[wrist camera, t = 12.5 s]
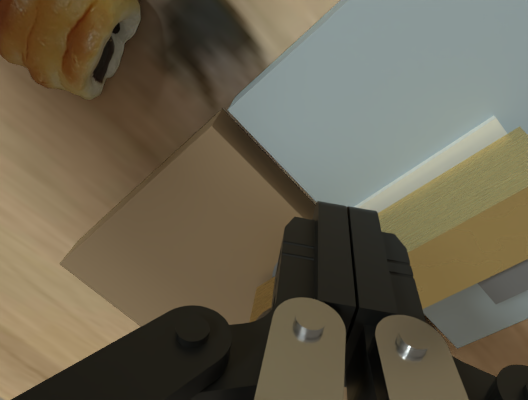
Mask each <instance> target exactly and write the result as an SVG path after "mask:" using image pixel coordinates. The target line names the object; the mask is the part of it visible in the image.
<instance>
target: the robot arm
mask: <svg viewBox="0 0 528 400" xmlns="http://www.w3.org/2000/svg"><path fill="white" fill-rule="evenodd" d="M413 276H414V275H413V271H412V268H411V266H410V260H409V256H408V253H407V249H406V247H405V246H404V245H403V244H402V242H401V241H400V240H399V239H398V238H397V236H396V235H395V234H392V233H386V232H381V227H380V222H379V217H378V213H377V211H373V210H368V209H362V208H356V207H351V206H347V207H346V206H344V205H339V204H333V203H327V202H321V201H317V203H316V206H315V210H314V214H313V219H312V220H311V219H306V218H300V217H294V218H293V219H292V220H291V221H290V222H289V223H288V224H287V225H286V226H285V229H284V234H283V239H282V244H281V249H280V254H279V259H278V264H277V269H276V274H275V282H274V290H273V297H272V305H271V311H270V312H269V313H268V314H267V315H265V316H264V317H262V318H261V319H258V320H256V321H253V322H249V323H243V324H232V325H229V324H228V322H227V321H226V319H225V318H224V317H223V316H222V315H220V314H219V313H218V312H216V311H214V310H212V309H210V308H207V307H203V306H196V305H189V306H182V307H178V308H175V309H172V310H170V311H168V312H166V313H165V314H163V315H161V316H159V317H158V318H156V319H154V320H152V321H150V322H149V323H147V324H145V325H143V326H141V327H140V328H138V329H136V330H134V331H133V332H131V333H129V334H127V335H125V336H124V337H122V338H120V339H118V340H117V341H115V342H113V343H111V344H109V345H108V346H106V347H104V348H102V349H101V350H99V351H97V352H95V353H93V354H92V355H90V356H88V357H86V358H84V359H83V360H81V361H79V362H77V363H76V364H74V365H72V366H70V367H68V368H67V369H65V370H63V371H61V372H60V373H58V374H56V375H54V376H52V377H51V378H49V379H47V380H45V381H43V382H42V383H40V384H38V385H36V386H35V387H33V388H31V389H29V390H27V391H26V392H24V393H22V394H20V395H19V396H17V397H15V398H13V399H11V400H344V387H347V400H528V366H524V365H510V366H507V367H505V368H503V369H502V370H501V371H500V373H499V374H498V376H497V377H495V376H493V375H491V374H489V373H486V372H484V371H482V370H479V369H477V368H475V367H473V366H470V365H468V364H466V363H464V362H462V361H460V360H458V359H456V358H455V357H453V356H452V355H451V353H450V350H449V347H448V345H447V343H446V342H445V340H444V339H443V337H442V336H441V335H440V334H439V333H438V332H437V331H436V330H435V329H434V328H433V327H431V326H430V325H428V324H427V323H426V320H425V317H424V313H423V309H422V305H421V301H420V298H419V294H418V290H417V286H416V283H415V279H414V278H413Z"/></svg>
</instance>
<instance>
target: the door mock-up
mask: <svg viewBox="0 0 528 400" xmlns="http://www.w3.org/2000/svg"><path fill="white" fill-rule="evenodd" d="M228 111H229V112H230V113H231V114H232V115H233V116H234V117H235V118H236V119H237V120H238V121H239V122H240V123H241V124H242V125H243V127H244V128H245V129H246V130H247V131H248V132H249V133H250V134H251V135H252V136H253V137H254V138H255V139H256V140H257V141H258V142H259V143H260V144H261V145H262V146H263V147H264V148H265V149H266V150H267V151H268V152H269V154H270V155H271V156H272V157H273V158H274V159H275V160H276V161H277V162H278V163H279V164H280V165H281V166H282V167H283V168H284V169H285V170H286V171H287V172H288V173H289V174H290V175H291V176H292V177H293V178H294V179H295V180H296V182H297V183H298V184H299V185H300V186H301V187H302V188H303V189H304V190H305V191H306V192H307V193H308V194H309V195H310V196H311V197H312V198H313V199H314V200H315V201H316V202H317V201H321V202H327V203H333V204H339V205H344V206H346V207H347V206H351V207H356V208H362V209H368V210H373V211H377V213H379V212H381V211H382V210H384V209H386V208H387V207H389V206H391V205H392V204H394V203H395V202H397V201H399V200H400V199H402V198H404V197H405V196H407V195H408V194H410V193H412V192H413V191H415V190H417V189H418V188H420V187H422V186H423V185H425V184H426V183H428V182H430V181H431V180H433V179H435V178H436V177H438V176H439V175H441V174H443V173H444V172H446V171H448V170H449V169H451V168H453V167H454V166H456V165H457V164H459V163H461V162H462V161H464V160H466V159H467V158H469V157H470V156H472V155H474V154H475V153H477V152H479V151H480V150H482V149H484V148H485V147H487V146H488V145H490V144H492V143H493V142H495V141H497V140H498V139H500V138H501V137H503V136H505V135H506V134H508V133H510V132H511V131H513V130H514V129H516V128H518V127H519V126H520V127H521V128H522V129H523V130H524V131H525V133H526V134H527V135H528V0H340V1H339V2H338V3H337V4H336V5H335V6H334V7H333V8H332V9H331V10H330V11H328V12H327V13H326V14H325V15H324V16H323V17H322V18H321V19H320V20H319V21H318V22H316V23H315V24H314V25H313V26H312V27H311V28H310V29H309V30H308V31H307V32H306V33H304V34H303V35H302V36H301V37H300V38H299V39H298V40H297V41H296V42H295V43H294V44H292V45H291V46H290V47H289V48H288V49H287V50H286V51H285V52H284V53H283V54H281V55H280V56H279V57H278V58H277V59H276V60H275V61H274V62H273V63H272V64H271V65H269V66H268V67H267V68H266V69H265V70H264V71H263V72H262V73H261V74H260V75H259V76H257V77H256V78H255V79H254V80H253V81H252V82H251V83H250V84H249V85H248V86H247V87H245V88H244V89H243V90H242V91H241V92H240V93H239V94H238V95H237V96H236V97H235V98H234V100H233V102H232V103H231V105H230V107H229V109H228ZM315 206H316V205H315V204H314V203H313V202H312V201H311V200H310V199H309V198H308V197H307V196H306V195H305V194H304V193H303V192H302V191H301V190H300V189H299V188H298V187H297V186H296V185H295V184H294V182H293V181H292V180H291V179H290V178H289V177H288V176H287V175H286V174H285V173H284V172H283V171H282V170H281V169H280V168H279V167H278V166H277V165H276V164H275V163H274V162H273V161H272V160H271V159H270V158H269V157H268V156H267V155H266V154H265V153H264V151H263V150H262V149H261V148H260V147H259V146H258V145H257V144H256V143H255V142H254V141H253V140H252V139H251V138H250V137H249V136H248V135H247V134H246V133H245V132H244V131H243V130H242V129H241V128H240V127H239V126H238V125H237V124H236V123H235V121H234V120H233V119H232V118H231V117H230V116H229V115H228V114H227V113H226V112H225V111H224V110H223V109H221V110H220V111H219V112H218V113H217V114H216V115H215V116H214V117H213V118H212V119H211V120H209V121H208V122H207V123H206V124H205V125H204V126H203V127H202V128H201V129H200V130H199V131H197V132H196V133H195V134H194V135H193V136H192V137H191V138H190V139H189V140H188V141H187V142H185V143H184V144H183V145H182V146H181V147H180V148H179V149H178V150H177V151H176V152H174V153H173V154H172V155H171V156H170V157H169V158H168V159H167V160H166V161H165V162H164V163H162V164H161V165H160V166H159V167H158V168H157V169H156V170H155V171H154V172H153V173H152V174H150V175H149V176H148V177H147V178H146V179H145V180H144V181H143V182H142V183H141V184H140V185H138V186H137V187H136V188H135V189H134V190H133V191H132V192H131V193H130V194H129V195H128V196H126V197H125V198H124V199H123V200H122V201H121V202H120V203H119V204H118V205H117V206H116V207H114V208H113V209H112V210H111V211H110V212H109V213H108V214H107V215H106V216H105V217H104V218H102V219H101V220H100V221H99V222H98V223H97V224H96V225H95V226H94V227H93V228H92V229H90V230H89V231H88V232H87V233H86V234H85V235H84V236H83V237H82V238H81V239H79V240H78V241H77V243H76V244H75V245H74V246H73V248H72V249H71V250H70V251H69V253H68V254H67V255H66V256H65V257H64V259H63V260H62V261H61V262H60V265H61V266H63V267H64V268H65V269H66V270H68V271H69V272H70V273H72V274H73V275H74V276H76V277H77V278H78V279H80V280H81V281H82V282H83V283H85V284H86V285H87V286H89V287H90V288H91V289H93V290H94V291H95V292H96V293H98V294H99V295H100V296H102V297H103V298H104V299H106V300H107V301H108V302H109V303H111V304H112V305H113V306H115V307H116V308H117V309H119V310H120V311H121V312H123V313H124V314H125V315H126V316H128V317H129V318H130V319H132V320H133V321H134V322H136V323H137V324H138V325H139V326H143V325H145V324H147V323H149V322H150V321H152V320H154V319H156V318H158V317H159V316H161V315H163V314H165V313H166V312H168V311H170V310H172V309H175V308H178V307H182V306H189V305H196V306H203V307H207V308H210V309H212V310H214V311H216V312H218V313H219V314H220V315H222V316H223V317H224V318H225V319H226V321H227V322H228V324H229V325H232V324H243V323H249V321H250V316H251V312H252V307H253V302H254V298H255V293H256V288H257V287H258V286H260V285H262V284H263V283H265V282H267V281H268V280H270V279H271V278H273V277H275V274H276V269H277V264H278V259H279V254H280V249H281V244H282V239H283V234H284V229H285V226H286V225H287V224H288V223H289V222H290V221H291V220H292V219H293V218H294V217H300V218H306V219H311V220H312V219H313V214H314V210H315ZM423 313H424V314H425V315H426V316H427V317H428V318H429V320H430V321H431V322H432V323H433V324H434V325H435V326H436V327H437V328H438V329H439V330H440V331H441V332H442V333H443V334H444V335H445V336H446V337H447V338H448V339H449V340H450V341H451V342H452V343H453V344H454V345H455V347H456V348H457V349H458V348H460V347H462V346H465V345H467V344H469V343H472V342H474V341H476V340H479V339H481V338H483V337H486V336H488V335H490V334H493V333H495V332H497V331H500V330H502V329H504V328H507V327H509V326H511V325H514V324H516V323H518V322H521V321H523V320H525V319H528V259H527V260H525V261H523V262H520V263H518V264H516V265H514V266H512V267H510V268H508V269H506V270H504V271H502V272H500V273H497V274H495V275H493V276H491V277H489V278H487V279H485V280H483V281H481V282H479V283H476V284H474V285H472V286H470V287H468V288H466V289H464V290H462V291H460V292H458V293H456V294H453V295H451V296H449V297H447V298H445V299H443V300H441V301H439V302H437V303H435V304H433V305H430V306H428V307H426V308H424V309H423ZM425 320H426V319H425ZM426 323H427V324H428V325H430V326H431V327H433V326H432V325H431V324H430V323H429V322H428V321H427V320H426ZM433 328H434V327H433ZM434 329H435V328H434ZM435 330H436V329H435ZM436 331H437V330H436ZM344 400H347V387H344Z"/></svg>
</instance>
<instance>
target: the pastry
mask: <svg viewBox="0 0 528 400" xmlns="http://www.w3.org/2000/svg"><path fill="white" fill-rule="evenodd" d="M140 20H141V14H140V4H139V2H138V0H0V55H1V56H2V57H3V58H5V59H6V60H7V61H8V62H10V63H12V64H17V65H21V66H24V67H26V68H28V70H29V72H30V74H31V76H32V78H33V80H34V81H35V82H36V83H38V84H40V85H42V86H44V87H46V88H53V89H55V88H56V89H61V90H66V91H69V92H71V93H72V94H75V95H79V96H81V97H82V98H83V99H86V100H91V99H93V98H95V97H97V96H99V95H100V94H101V92H102V89H103V85H104V83H105V82H106V79H107V78H110V77H112V76H113V75H114V74H115V72H116V71H117V68H118V66H119V65H120V60H121V56H122V54H123V51H124V45H125V42H126V41H127V40H129V39H130V38H131V37H132V36H133V35H134V34H135V32H136V30H137V27H138V25H139V22H140Z"/></svg>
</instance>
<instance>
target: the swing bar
mask: <svg viewBox="0 0 528 400" xmlns="http://www.w3.org/2000/svg"><path fill="white" fill-rule="evenodd" d="M378 217H379V222H380V227H381V232H386V233H392V234H395V235H396V236H397V238H398V239H399V240H400V241H401V242H402V244H403V245H404V246H405V247H406V249H407V253H408V256H409V260H410V266H411V268H412V271H413V275H414V276H413V278H414V279H415V283H416V286H417V290H418V294H419V298H420V301H421V305H422V309H424V308H426V307H428V306H430V305H433V304H435V303H437V302H439V301H441V300H443V299H445V298H447V297H449V296H451V295H453V294H456V293H458V292H460V291H462V290H464V289H466V288H468V287H470V286H472V285H474V284H476V283H479V282H481V281H483V280H485V279H487V278H489V277H491V276H493V275H495V274H497V273H500V272H502V271H504V270H506V269H508V268H510V267H512V266H514V265H516V264H518V263H520V262H523V261H525V260H527V259H528V135H527V134H526V133H525V131H524V130H523V129H522V128H521V127H520V126H519V127H518V128H516V129H514V130H513V131H511V132H510V133H508V134H506V135H505V136H503V137H501V138H500V139H498V140H497V141H495V142H493V143H492V144H490V145H488V146H487V147H485V148H484V149H482V150H480V151H479V152H477V153H475V154H474V155H472V156H470V157H469V158H467V159H466V160H464V161H462V162H461V163H459V164H457V165H456V166H454V167H453V168H451V169H449V170H448V171H446V172H444V173H443V174H441V175H439V176H438V177H436V178H435V179H433V180H431V181H430V182H428V183H426V184H425V185H423V186H422V187H420V188H418V189H417V190H415V191H413V192H412V193H410V194H408V195H407V196H405V197H404V198H402V199H400V200H399V201H397V202H395V203H394V204H392V205H391V206H389V207H387V208H386V209H384V210H382V211H381V212H379V213H378ZM274 282H275V277H273V278H271V279H270V280H268V281H267V282H265V283H263V284H262V285H260V286H258V287H257V288H256V293H255V298H254V302H253V307H252V312H251V316H250V321H249V322H253V321H256V320H258V319H261V318H262V317H264V316H265V315H267V314H268V313H269V312H270V311H271V305H272V297H273V290H274Z"/></svg>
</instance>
